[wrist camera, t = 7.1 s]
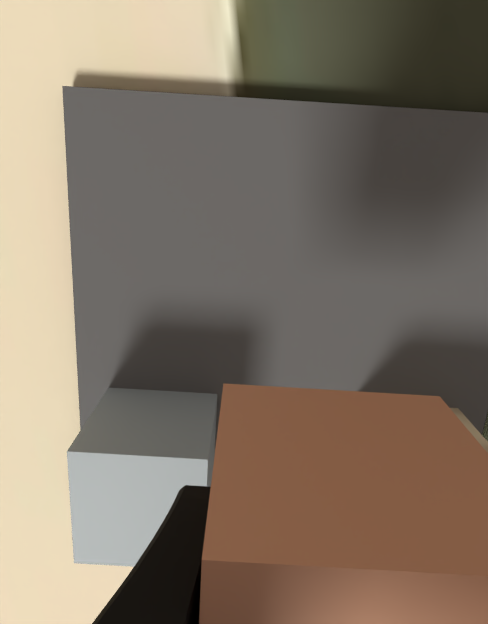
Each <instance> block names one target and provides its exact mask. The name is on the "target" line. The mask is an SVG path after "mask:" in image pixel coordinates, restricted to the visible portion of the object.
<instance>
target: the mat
mask: <svg viewBox="0 0 488 624" xmlns="http://www.w3.org/2000/svg"><path fill="white" fill-rule="evenodd" d="M63 105H64V124H65V143H66V162H67V181H68V200H69V219H70V238H71V257H72V276H73V295H74V314H75V333H76V352H77V371H78V390H79V409H80V428H81V429H82V428H83V426H84V425H85V423H86V422H87V420H88V418H89V417H90V415H91V414H92V412H93V411H94V409H95V408H96V406H97V405H98V403H99V402H100V400H101V398H102V397H103V395H104V394H105V392H106V391H107V389H108V388H125V389H142V390H159V391H176V392H193V393H210V394H217V414H216V435H215V448H216V440H217V432H218V423H219V415H220V407H221V399H222V391H223V383H224V384H241V385H258V386H275V387H292V388H309V389H326V390H343V391H360V392H377V393H394V394H411V395H428V396H440V397H441V398H442V400H443V401H444V402H445V403H446V404H447V405H448V407H449V408H458V409H459V410H460V411H461V412H462V413H463V414H464V415H465V417H466V418H467V419H468V420H469V421H470V422H471V423H472V425H473V426H474V427H475V428H476V429H477V430H478V431H479V432H480V434H481V435H482V433H483V429H484V425H485V421H486V416H487V412H488V113H482V112H466V111H450V110H434V109H418V108H402V107H387V106H371V105H355V104H339V103H323V102H307V101H291V100H276V99H260V98H244V97H228V96H212V95H196V94H180V93H165V92H149V91H133V90H117V89H101V88H85V87H69V86H63Z"/></svg>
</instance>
